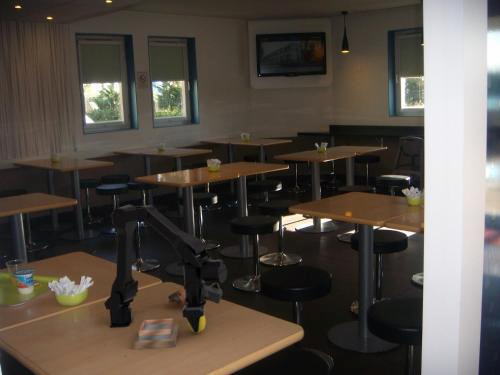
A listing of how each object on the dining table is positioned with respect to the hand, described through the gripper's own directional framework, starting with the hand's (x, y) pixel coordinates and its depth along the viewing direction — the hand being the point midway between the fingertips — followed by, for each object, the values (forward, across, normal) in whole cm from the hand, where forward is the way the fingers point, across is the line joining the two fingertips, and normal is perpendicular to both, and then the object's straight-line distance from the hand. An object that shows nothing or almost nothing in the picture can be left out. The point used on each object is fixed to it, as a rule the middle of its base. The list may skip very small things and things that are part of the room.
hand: (197, 328), depth 177 cm
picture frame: (+2, -3, +12) cm, 12 cm away
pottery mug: (+2, +24, +6) cm, 25 cm away
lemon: (+2, 0, 0) cm, 2 cm away
